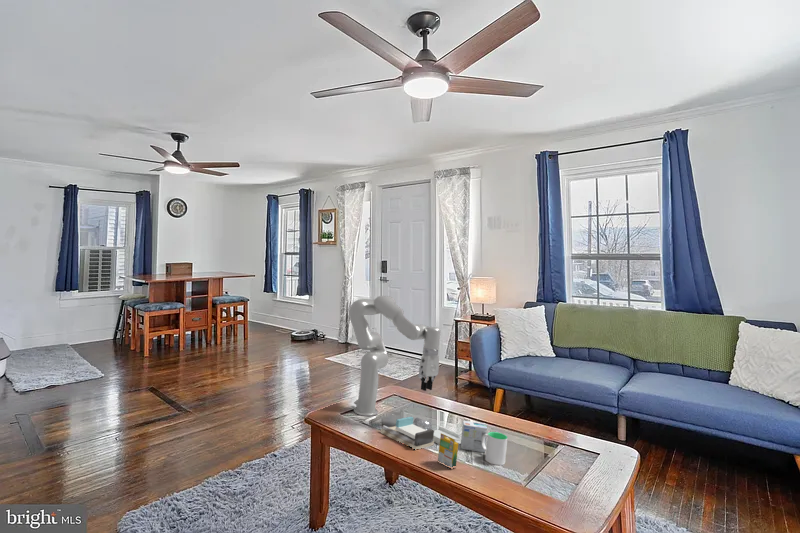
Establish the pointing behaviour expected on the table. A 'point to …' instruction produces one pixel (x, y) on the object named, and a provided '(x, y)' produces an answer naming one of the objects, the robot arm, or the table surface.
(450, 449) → the crayon box
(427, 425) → the loose roller
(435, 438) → the roller rack
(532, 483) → the table surface
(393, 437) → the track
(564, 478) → the table surface
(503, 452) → the mug
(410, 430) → the toy bed
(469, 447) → the light bulb box
